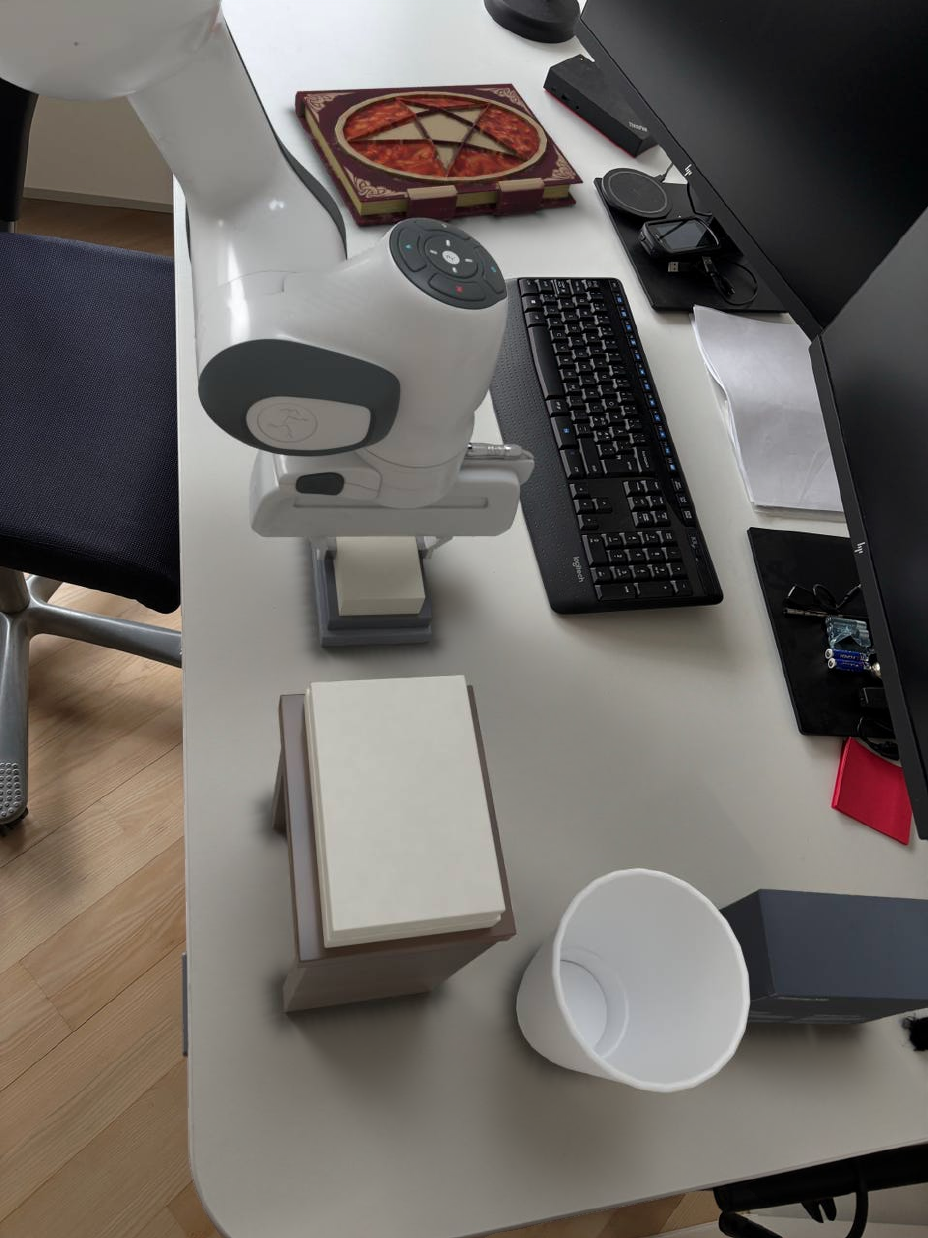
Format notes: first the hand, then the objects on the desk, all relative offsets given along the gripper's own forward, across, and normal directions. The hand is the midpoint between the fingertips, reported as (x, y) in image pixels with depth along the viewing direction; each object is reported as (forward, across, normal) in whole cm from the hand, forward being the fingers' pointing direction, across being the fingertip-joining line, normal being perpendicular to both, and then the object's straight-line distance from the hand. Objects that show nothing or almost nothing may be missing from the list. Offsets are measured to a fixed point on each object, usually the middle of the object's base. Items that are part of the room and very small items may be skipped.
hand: (373, 552), depth 75 cm
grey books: (+4, 0, 0) cm, 4 cm away
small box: (+4, -27, +36) cm, 45 cm away
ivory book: (+1, 0, 0) cm, 1 cm away
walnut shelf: (+4, +4, +26) cm, 27 cm away
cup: (+4, -10, +36) cm, 38 cm away
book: (+4, -15, -58) cm, 60 cm away
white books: (-16, +4, +27) cm, 31 cm away
